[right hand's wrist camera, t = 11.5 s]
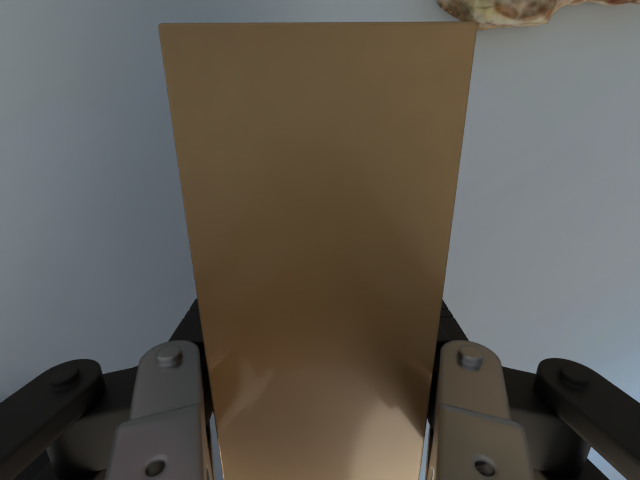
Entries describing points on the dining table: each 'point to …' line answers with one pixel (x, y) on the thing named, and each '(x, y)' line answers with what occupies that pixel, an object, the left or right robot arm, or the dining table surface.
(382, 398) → the bar
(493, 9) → the stone
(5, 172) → the dining table surface
